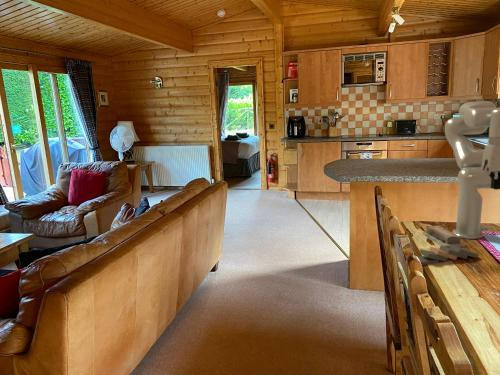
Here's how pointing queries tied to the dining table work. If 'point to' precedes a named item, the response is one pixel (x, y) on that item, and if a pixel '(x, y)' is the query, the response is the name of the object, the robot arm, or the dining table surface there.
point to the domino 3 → (442, 253)
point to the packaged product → (443, 236)
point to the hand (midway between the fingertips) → (495, 188)
